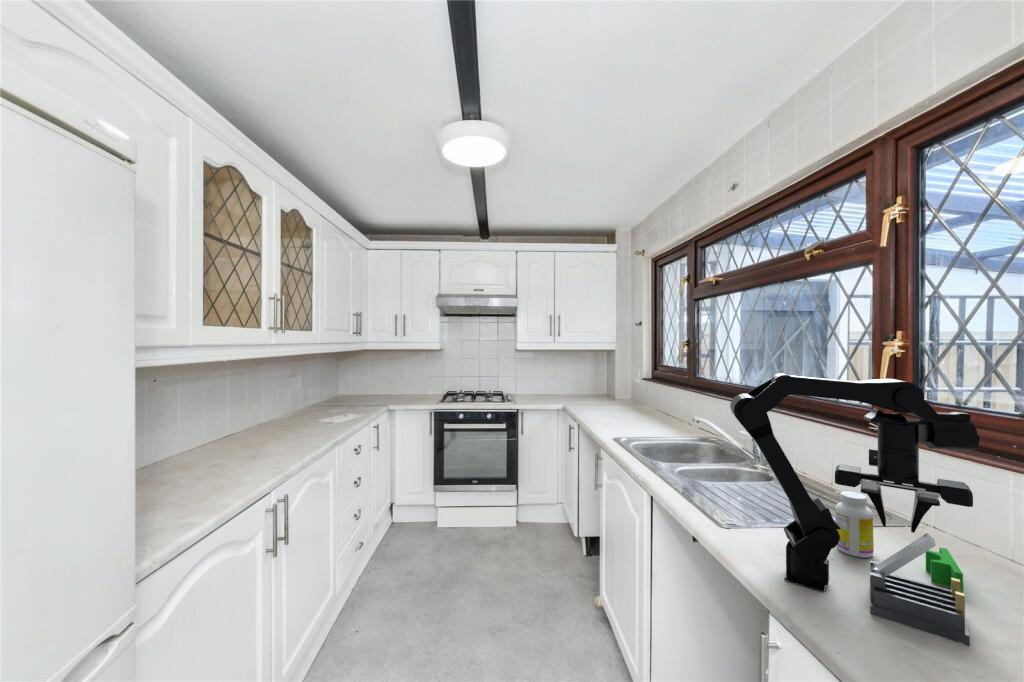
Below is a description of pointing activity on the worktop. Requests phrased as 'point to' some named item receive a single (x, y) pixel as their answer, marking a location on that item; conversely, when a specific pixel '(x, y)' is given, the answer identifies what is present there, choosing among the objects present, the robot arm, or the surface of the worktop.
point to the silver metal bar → (904, 556)
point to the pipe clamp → (943, 568)
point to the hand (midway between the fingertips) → (898, 528)
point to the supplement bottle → (854, 525)
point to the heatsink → (920, 605)
